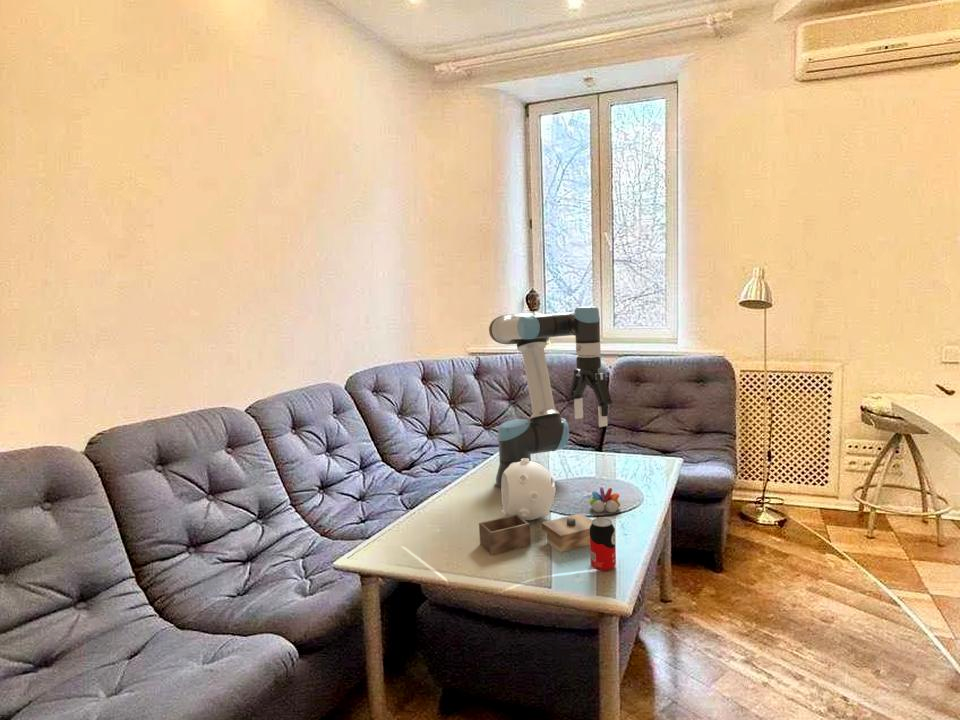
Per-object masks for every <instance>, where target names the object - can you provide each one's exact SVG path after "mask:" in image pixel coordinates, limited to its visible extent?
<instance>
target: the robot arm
mask: <svg viewBox="0 0 960 720" xmlns="http://www.w3.org/2000/svg"><path fill="white" fill-rule="evenodd" d="M599 310H600V309H599V308H598V307H597V306H594V305H593V306H592V305H591V306H587V305H586V306H578V307H575V309H574V312H573V311H565V312H560V313H549V314H548V313H546V314H543V313H542V312H531V311H530V312H525V313H512V314H509V313H508V314H502V315H499V316H496V317H495V318H494V319H493V320H492V321H491V322H490V324H489V327H488V333H489V336H490V338H491V339H492V340H493V341H494V342H495V343H498V344H500V345H516V347H517V350H518V351H519V352H521V355H522V360H523V366H524V371H525V377H526V382H527V388H528V393H529V398H530V399H529V400H530V404H531V406H530V407H531V410H532V413H531V416H530V417H529V420H528V419H526V418H525V419H524V418H520V419H518V418H517V419H511V420H508V421H507V420H506V421H505V422H502V423H501V424H499V426H498V428H497V433H498V434H497V443H498V457H499V465H498V469H497V472H496V477H495V486H496V487H497V488H500V489H501V481H502V474H503V472H504V471H505V470H506V469H507V468H508V467H509V465H510V464H511V463H514V462H515V463H517V462H520V461H521V459H523V458H528V459H529V461H532V460H531V459H532V458H531V455H534V454H540V453H548V452H556V451H559V450H563V449H565V447H567V445H568V442H569V440H570V439H569V438H570V428H569V427H570V426H569V424H568V421H567V420H566V419H565V418H564V417H561V413H560V412H559V411H558V410H557V409H556V407H555V401H554V396H553V392H552V386H551V380H550V375H549V369H548V363H547V358H546V353H545V348H546V347H547V345H548V341H549V340H550V338H557V337H569V336H574V337H575V349H576V350H575V353H576V356H577V357H576V369H573V377H572V382H571V386H570V391H569V396H571V397H572V398H573V407H574V419H575V420H579V419H583V418H584V406H583V405H584V404H583V393H584V392H585V389H586V387H587V386H588V387H589V388H591V390H592V392H593V393H594V395H595V397H596V400H597V402H598V405H597V409H598V410H597V411H598V414H597V416H598V428H603V427H608V410H609V409H608V406H609V405H612V404H613V400H612V396H611V393H610V391H609V387H608V384H607V381H606V373H605V372H599V369H600V368H601V367H602V357H601V356H600V355H601V353H602V351H601V328H600V327H601V326H600V324H601V322H600V321H601V318H600V311H599ZM520 479H521V478H520Z"/></svg>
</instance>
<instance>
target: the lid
mask: <svg viewBox="0 0 960 720" xmlns="http://www.w3.org/2000/svg"><path fill="white" fill-rule="evenodd" d="M592 520H593V519H591V518H589V517H588V516H586V515H585V514H583V513H577V514H572V515H568V516H564V517H563V516H562V517H560V518H556V519H551V520H547V521H542V522H541V530H543V532H544V533H545V532H546V534H547V533H548V534H549V535H551V536H552V537H554V538H555V539H556V540H558V541H559V542H561V543H563V542H567V541H571V540H575V539H579V538H583V537H587V536H590V526H591V524H592Z"/></svg>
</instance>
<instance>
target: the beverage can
mask: <svg viewBox="0 0 960 720" xmlns="http://www.w3.org/2000/svg"><path fill="white" fill-rule="evenodd" d="M591 520H592V524H591V526H590V546H589V547H590V548H589V549H590V550H589V551H590V553H589V554H590V564H591V566H592V567H593V568H594V569H596V570H598V571H603V572H604V571H605V572H606V571H610V570H612V569H613V568H614V567H615V565H616V562H617V560H616V530H615V526H614V525H613V520H611V519H609V518H606V517H605V518H604V517H598V518H594V519H591Z"/></svg>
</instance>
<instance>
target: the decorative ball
mask: <svg viewBox="0 0 960 720" xmlns="http://www.w3.org/2000/svg"><path fill="white" fill-rule="evenodd" d="M520 478H521V479H520ZM500 494H501V495H500V496H501V505H502V510H501V513H503V514H504V515H505V517H508V516H512V515H518V516H520V517H521V518H522V519H524V520H525V521H533V520H536V519H539V518H541V517H543V518H544V519H545V518H547V517H548V516H549V515H550V514H551V511H550V510H551V508H552V506H553V504H554V501H555V494H556V483H555V480H554V478H553V476H552V475H551V472H550V471H549V470H548V469H547V468H546V467H545V466H543V465H542V464H540V463H537V462H535V461H532V460H531V461H529V459H528V458H523V459H521V461H520V462H517V463H515V462H514V463H511V464H510V465H509V467H508V468H507V469H506V470H505V471H504V472H503V474H502V481H501V488H500Z"/></svg>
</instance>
